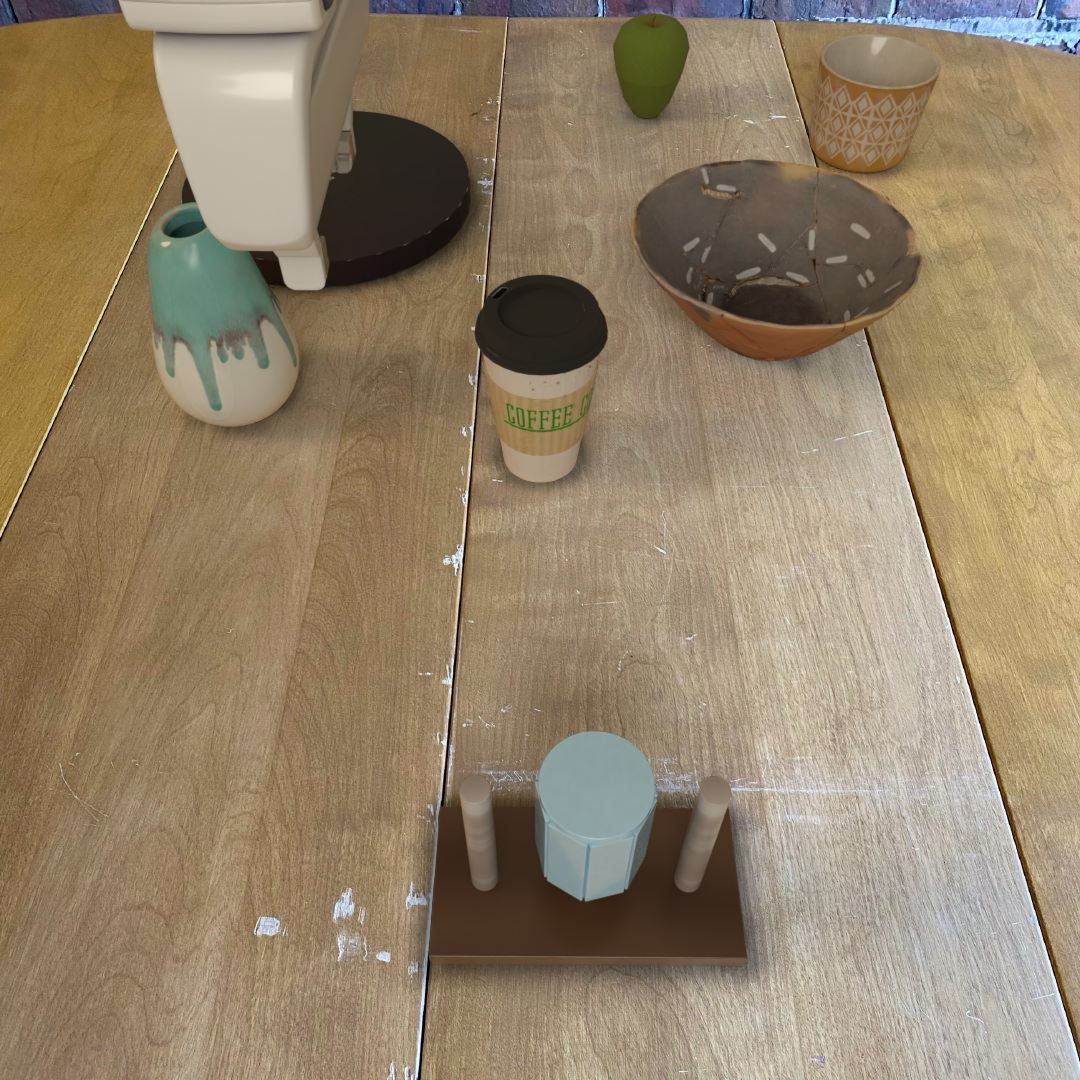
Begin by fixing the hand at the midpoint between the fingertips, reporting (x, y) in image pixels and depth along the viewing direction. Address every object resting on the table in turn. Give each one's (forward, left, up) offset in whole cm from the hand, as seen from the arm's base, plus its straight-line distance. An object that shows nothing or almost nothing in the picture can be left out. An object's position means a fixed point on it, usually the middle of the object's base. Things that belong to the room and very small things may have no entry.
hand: (324, 219), depth 47 cm
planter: (+61, +53, -33) cm, 87 cm away
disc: (+1, +56, -33) cm, 65 cm away
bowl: (+38, +26, -33) cm, 57 cm away
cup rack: (+8, -22, -33) cm, 41 cm away
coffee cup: (+14, +14, -33) cm, 39 cm away
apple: (+40, +67, -33) cm, 85 cm away
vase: (-10, +27, -33) cm, 44 cm away
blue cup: (+8, -22, -27) cm, 36 cm away
